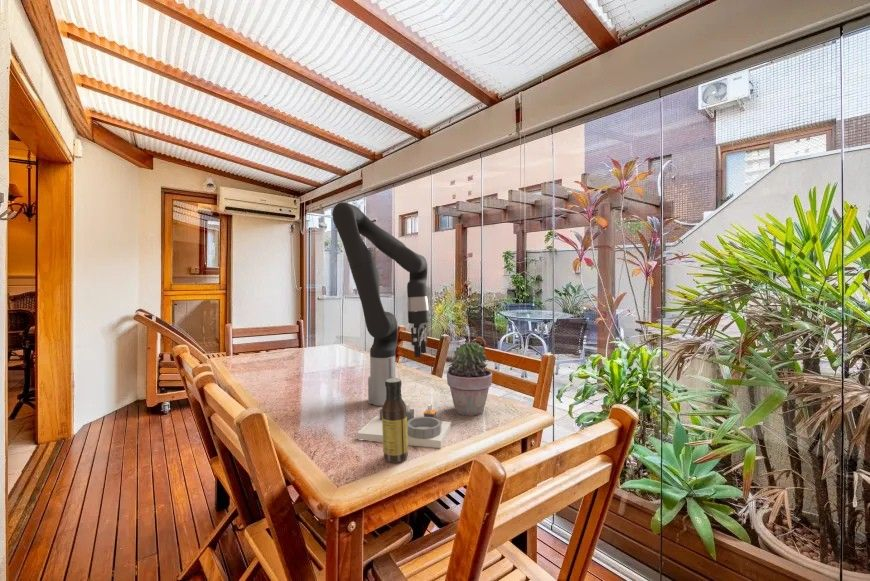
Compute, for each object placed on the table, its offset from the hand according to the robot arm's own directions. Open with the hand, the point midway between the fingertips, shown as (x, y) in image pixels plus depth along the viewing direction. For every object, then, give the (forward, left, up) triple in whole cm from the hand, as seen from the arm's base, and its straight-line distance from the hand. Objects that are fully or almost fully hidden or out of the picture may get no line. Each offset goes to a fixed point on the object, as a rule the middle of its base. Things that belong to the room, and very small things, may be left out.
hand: (420, 355), depth 135 cm
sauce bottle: (+4, -40, -19) cm, 44 cm away
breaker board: (+2, -25, -18) cm, 31 cm away
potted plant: (+17, -2, -18) cm, 25 cm away
